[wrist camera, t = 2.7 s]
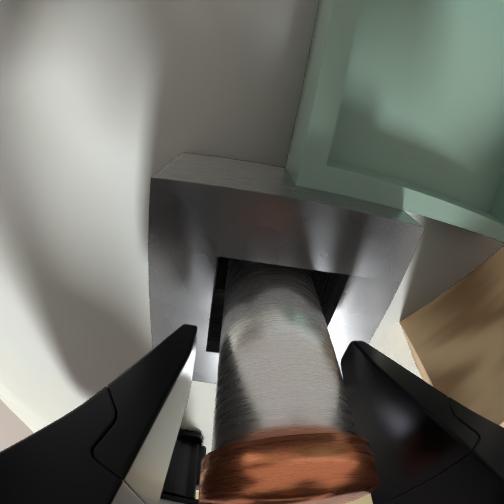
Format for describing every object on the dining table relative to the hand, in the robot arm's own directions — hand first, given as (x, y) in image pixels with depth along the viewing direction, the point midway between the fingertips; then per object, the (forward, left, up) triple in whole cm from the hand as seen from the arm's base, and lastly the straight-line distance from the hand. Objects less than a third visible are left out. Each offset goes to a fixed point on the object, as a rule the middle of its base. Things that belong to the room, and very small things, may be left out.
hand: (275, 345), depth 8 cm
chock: (+15, -1, -5) cm, 16 cm away
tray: (+6, +10, -5) cm, 13 cm away
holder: (0, 0, -5) cm, 5 cm away
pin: (0, 0, -5) cm, 5 cm away
